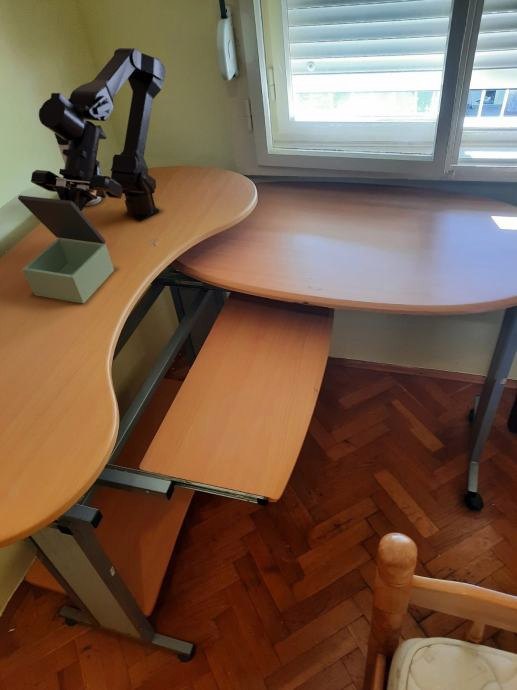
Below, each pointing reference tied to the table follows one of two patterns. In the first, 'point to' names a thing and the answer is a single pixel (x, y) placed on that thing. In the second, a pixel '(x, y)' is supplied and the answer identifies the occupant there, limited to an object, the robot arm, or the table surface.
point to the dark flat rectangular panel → (62, 219)
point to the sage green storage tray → (69, 270)
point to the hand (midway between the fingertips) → (70, 224)
